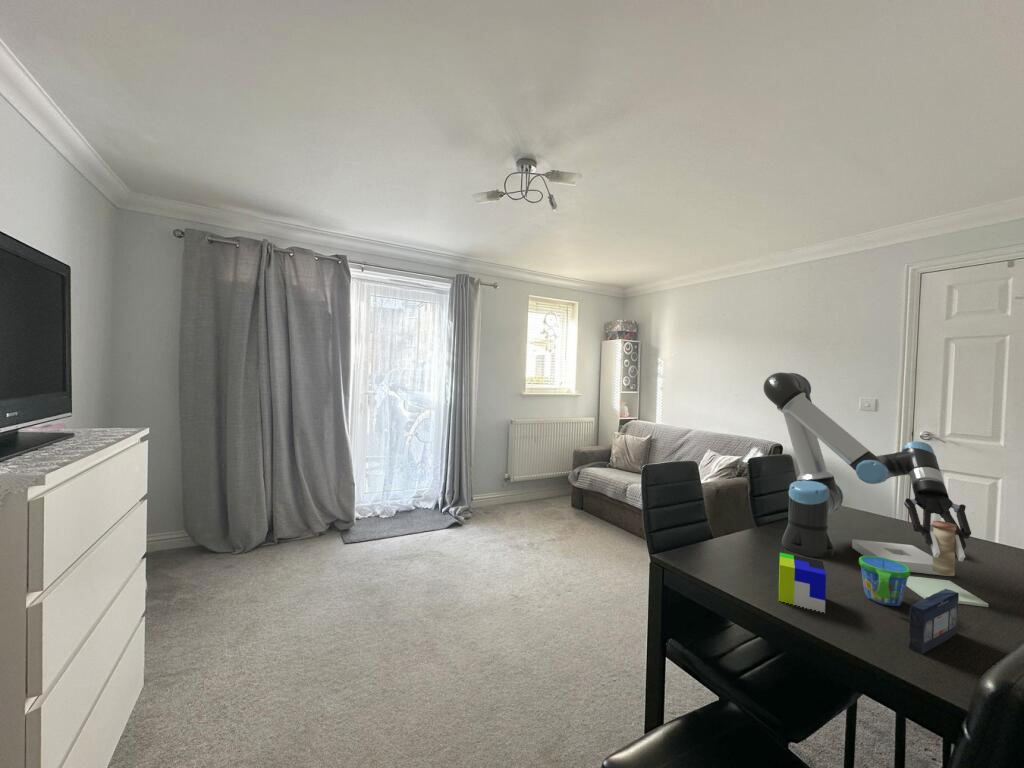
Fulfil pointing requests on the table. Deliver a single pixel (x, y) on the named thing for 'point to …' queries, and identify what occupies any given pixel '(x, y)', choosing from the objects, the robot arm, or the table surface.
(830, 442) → the robot arm
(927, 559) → the socket block
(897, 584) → the snack cup
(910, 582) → the pad
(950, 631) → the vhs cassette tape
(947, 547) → the plug
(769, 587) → the table surface
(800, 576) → the puzzle toy
